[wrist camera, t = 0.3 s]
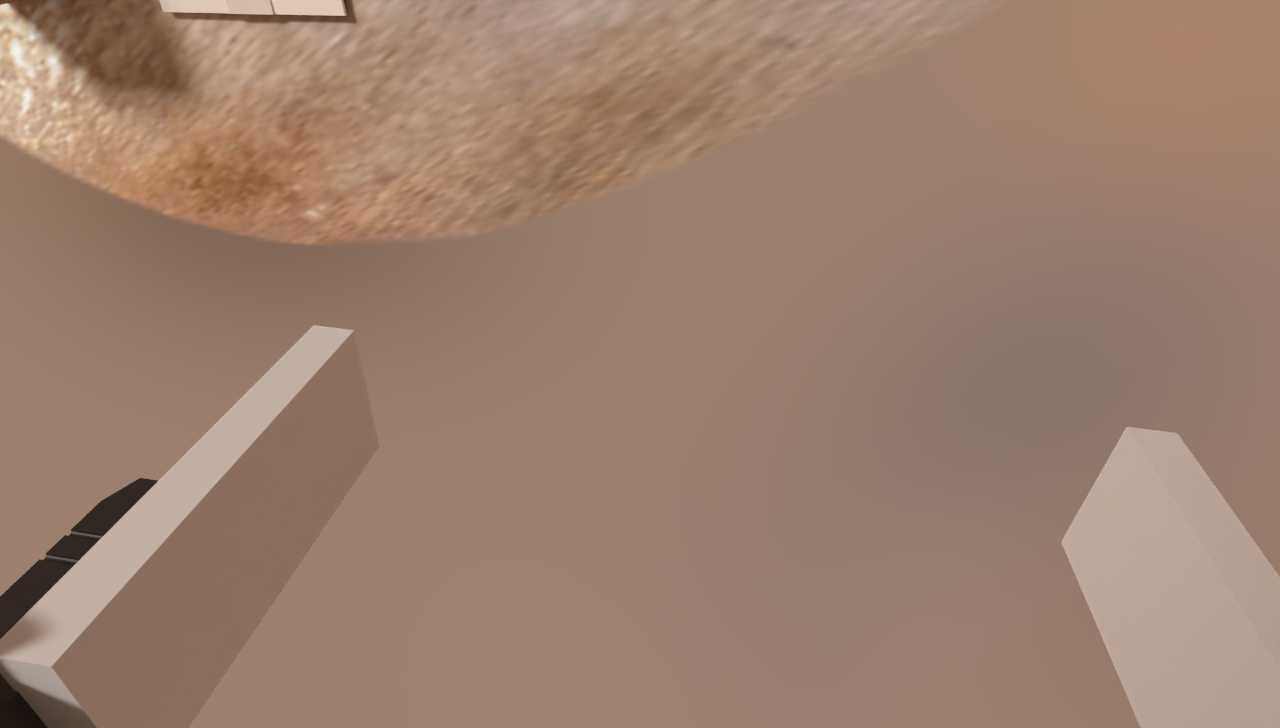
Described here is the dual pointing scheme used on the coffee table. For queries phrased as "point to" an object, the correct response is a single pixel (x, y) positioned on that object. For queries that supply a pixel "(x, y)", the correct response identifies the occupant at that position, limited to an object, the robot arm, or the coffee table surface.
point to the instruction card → (257, 7)
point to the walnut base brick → (8, 1)
